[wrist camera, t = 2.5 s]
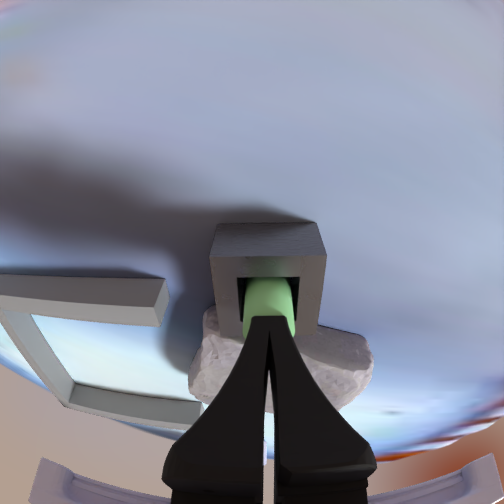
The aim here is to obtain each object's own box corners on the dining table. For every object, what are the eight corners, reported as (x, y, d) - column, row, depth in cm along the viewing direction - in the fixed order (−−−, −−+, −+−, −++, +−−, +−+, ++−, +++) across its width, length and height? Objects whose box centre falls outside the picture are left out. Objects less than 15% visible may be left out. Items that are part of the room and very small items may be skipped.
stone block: (314, 381, 26) (380, 329, 19) (312, 429, 23) (387, 392, 16) (189, 350, 25) (214, 280, 18) (175, 400, 21) (194, 351, 15)
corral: (204, 409, 26) (201, 431, 24) (71, 389, 27) (64, 406, 25) (165, 278, 18) (153, 307, 15) (-1, 273, 18) (-17, 292, 16)
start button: (288, 291, 16) (293, 347, 13) (247, 291, 17) (243, 348, 13) (289, 257, 15) (296, 313, 12) (245, 257, 15) (240, 313, 12)
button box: (309, 297, 18) (315, 335, 15) (225, 298, 18) (220, 336, 16) (316, 222, 15) (327, 255, 13) (217, 224, 15) (208, 256, 13)
